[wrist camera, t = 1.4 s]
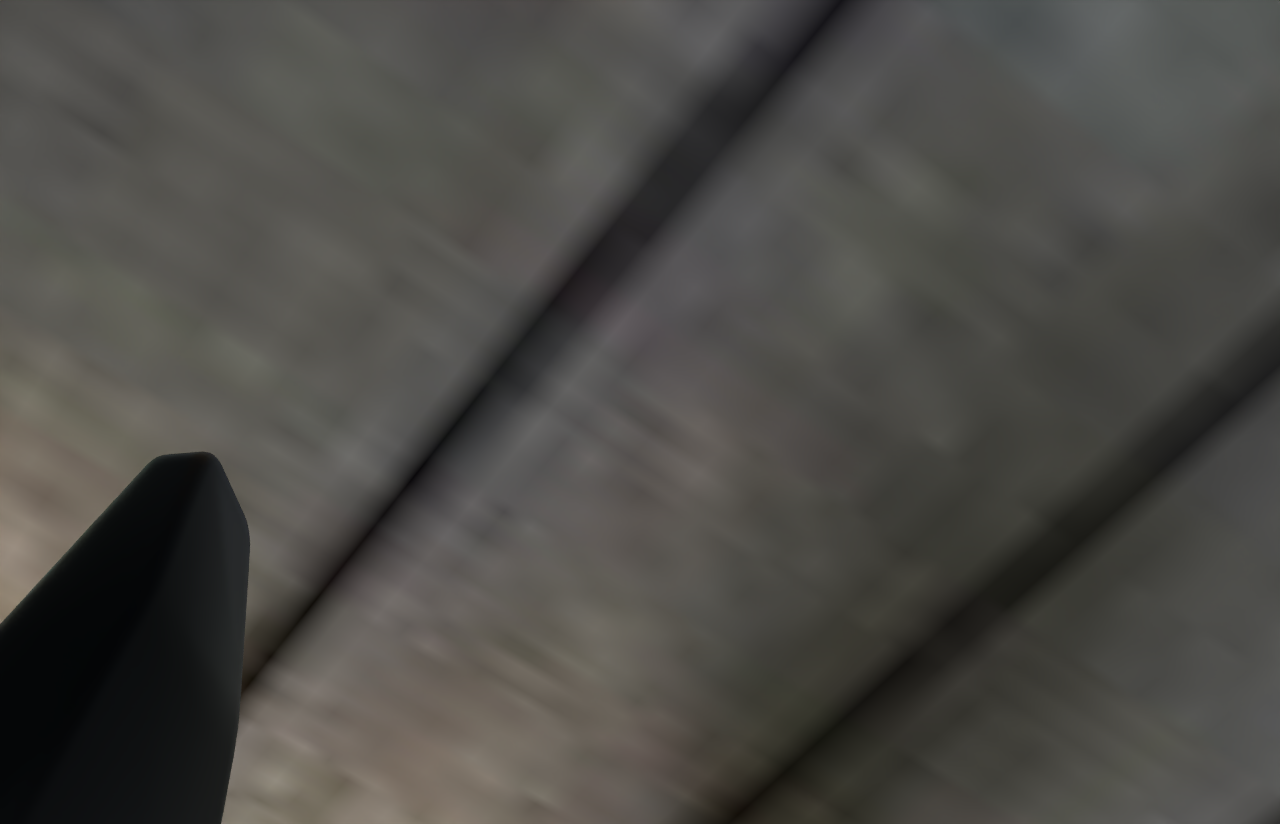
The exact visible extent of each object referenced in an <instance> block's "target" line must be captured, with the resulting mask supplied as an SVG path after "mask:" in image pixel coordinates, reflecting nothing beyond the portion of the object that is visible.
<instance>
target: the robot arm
mask: <svg viewBox="0 0 1280 824" xmlns="http://www.w3.org/2000/svg"><path fill="white" fill-rule="evenodd" d="M249 556H250V536H249V529H248V525H247V521H246V518H245V515H244V513H243V511H242V509H241V507H240V504H239V502H238V500H237V498H236V496H235V494H234V491H233V489H232V487H231V485H230V483H229V480H228V478H227V476H226V474H225V472H224V469H223V467H222V465H221V463H220V462H219V460H218V459H217V458H216V457H215V456H214V455H213V454H211V453H208V452H193V453H181V454H169V455H162V456H159V457H157V458H155V459H154V460H152V461H151V462H150V463H148V464H147V465H146V466H145V468H144V469H143V470H142V471H141V472H140V473H139V474H138V475H137V476H136V477H135V478H134V479H133V481H132V482H131V483H130V484H129V485H128V486H127V487H126V488H125V489H124V490H123V491H122V493H121V494H120V495H119V496H118V497H117V498H116V499H115V500H114V501H113V502H112V503H111V504H110V506H109V507H108V508H107V509H106V510H105V511H104V512H103V513H102V514H101V515H100V516H99V517H98V519H97V520H96V521H95V522H94V523H93V524H92V525H91V526H90V527H89V528H88V529H87V531H86V532H85V533H84V534H83V535H82V536H81V537H80V538H79V539H78V540H77V541H76V542H75V544H74V545H73V546H72V547H71V548H70V549H69V550H68V551H67V552H66V553H65V554H64V555H63V557H62V558H61V559H60V560H59V561H58V562H57V563H56V564H55V565H54V566H53V567H52V568H51V570H50V571H49V572H48V573H47V574H46V575H45V576H44V577H43V578H42V579H41V580H40V582H39V583H38V584H37V585H36V586H35V587H34V588H33V589H32V590H31V591H30V592H29V593H28V595H27V596H26V597H25V598H24V599H23V600H22V601H21V602H20V603H19V604H18V605H17V606H16V608H15V609H14V610H13V611H12V612H11V613H10V614H9V615H8V616H7V617H6V618H5V619H4V621H3V622H2V623H1V624H0V824H221V822H222V816H223V811H224V805H225V800H226V795H227V789H228V784H229V779H230V773H231V768H232V762H233V757H234V750H235V744H236V738H237V731H238V723H239V711H240V700H241V684H242V668H243V652H244V636H245V620H246V604H247V588H248V572H249Z"/></svg>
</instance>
